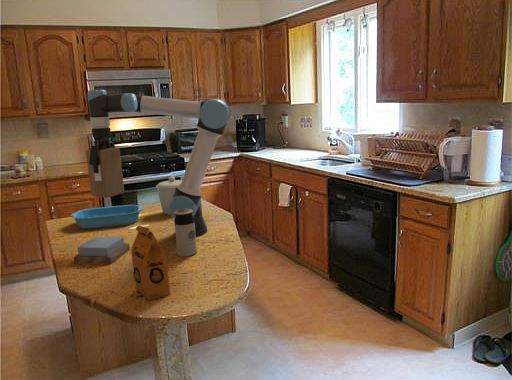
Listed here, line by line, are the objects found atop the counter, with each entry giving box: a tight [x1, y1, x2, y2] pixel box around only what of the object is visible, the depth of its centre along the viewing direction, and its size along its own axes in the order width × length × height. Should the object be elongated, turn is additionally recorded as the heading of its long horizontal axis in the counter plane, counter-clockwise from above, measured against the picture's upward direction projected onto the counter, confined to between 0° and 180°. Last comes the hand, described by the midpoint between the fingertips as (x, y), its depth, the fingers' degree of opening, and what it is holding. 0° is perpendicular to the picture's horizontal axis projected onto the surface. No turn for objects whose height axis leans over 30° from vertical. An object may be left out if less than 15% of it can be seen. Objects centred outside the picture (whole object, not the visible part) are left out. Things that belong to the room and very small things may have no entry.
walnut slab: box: [73, 243, 131, 265], centre depth 174 cm, size 16×16×4 cm
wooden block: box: [85, 147, 125, 199], centre depth 181 cm, size 10×10×20 cm
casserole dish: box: [70, 204, 145, 230], centre depth 225 cm, size 37×22×7 cm, turn 105°
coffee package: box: [130, 224, 171, 301], centre depth 136 cm, size 10×12×22 cm
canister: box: [155, 175, 182, 216], centre depth 237 cm, size 18×18×21 cm
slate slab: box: [76, 236, 125, 256], centre depth 173 cm, size 13×13×4 cm
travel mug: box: [173, 209, 198, 257], centre depth 171 cm, size 8×8×18 cm
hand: (106, 178), depth 182 cm, fingers closed on wooden block, 12 cm apart
